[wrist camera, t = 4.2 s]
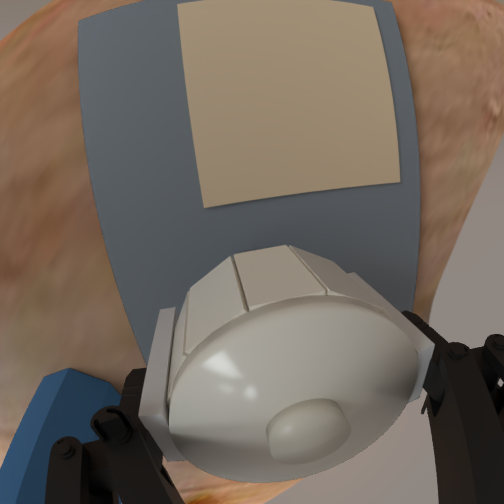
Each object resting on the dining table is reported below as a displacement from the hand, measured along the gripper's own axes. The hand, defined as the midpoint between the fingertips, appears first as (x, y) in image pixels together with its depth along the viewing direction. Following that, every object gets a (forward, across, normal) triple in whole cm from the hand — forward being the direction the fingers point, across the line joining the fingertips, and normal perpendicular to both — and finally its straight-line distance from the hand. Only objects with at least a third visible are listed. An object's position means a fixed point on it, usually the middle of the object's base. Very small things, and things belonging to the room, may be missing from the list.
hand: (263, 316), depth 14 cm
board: (+5, +2, +6) cm, 8 cm away
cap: (-2, 0, 0) cm, 2 cm away
